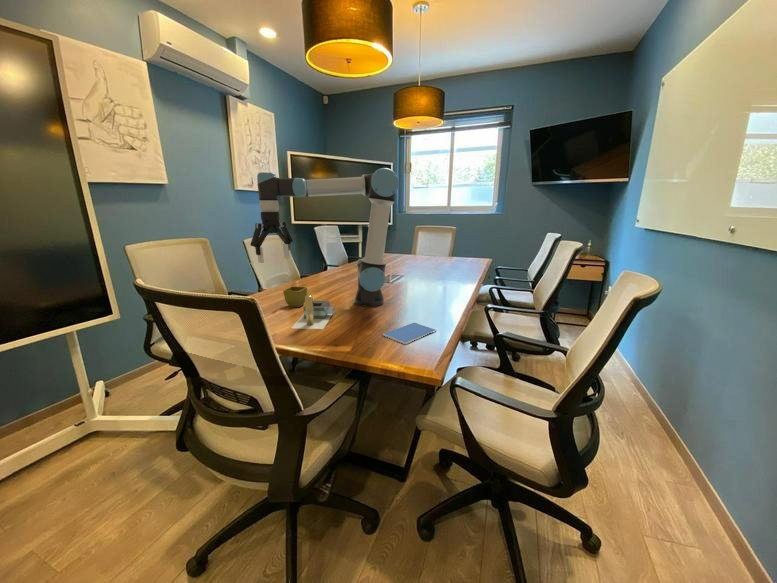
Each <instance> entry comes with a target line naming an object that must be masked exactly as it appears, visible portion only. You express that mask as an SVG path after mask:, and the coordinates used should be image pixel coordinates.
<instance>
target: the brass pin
mask: <svg viewBox="0 0 777 583" xmlns="http://www.w3.org/2000/svg"><path fill="white" fill-rule="evenodd" d="M313 298H314V296H313V295H309V294H307V296H305V303H304V306H306V322H307V325H309V326H310V325H314V313H313V301H314V299H313Z"/></svg>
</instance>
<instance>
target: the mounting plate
mask: <svg viewBox="0 0 777 583" xmlns="http://www.w3.org/2000/svg"><path fill="white" fill-rule="evenodd" d="M332 315H333V314H328V315H327V316H326V318H325V319H314V325H310V326H309V325H307V322H306V319H304V313H303V314H302V315H301V316H300V318H299V319H298V320H297V321H296V322H295V323H294V324H293V325H292V326H291V329H295V330H296V329H300V330H302V329H303V330H305V329H306V330H307V329H308V330H324V329H325V327H326V326H327V324H328V322H329V320H330V319H331V317H332Z"/></svg>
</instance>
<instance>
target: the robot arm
mask: <svg viewBox="0 0 777 583" xmlns="http://www.w3.org/2000/svg"><path fill="white" fill-rule="evenodd" d="M256 177H257V178H256V179H257V181H256V182H257V191H258V200H259V208H260V220H261V223H260V222H258V223H257V222H255V226H254V227H255V229H254V232H253V236H252V238H251V242H250V246H251V247H253V248H254V249H255V255H256V256H257V260H258V263H259V264H260V263H261V264H263V263H264V262H265V261H264V252H263V250H264V249H263V247H262V244H263V243H264V241H265V239H266V238H267V236H268V235H269V234H276V235H277V236H278V237H279V239H280V240H281V241H282V242H283V244H282V247H283V248H282V249H283V250H282V251H283V259H290V245H291V244H292V243H293V241H294V240H293V238H292V236H291V234H290V232H289V229H288V228H287V225H286V224H287V223H286V222H285V221H280V220H281V219H280V212H279V209H280V207H279V197H280V198H281V197H282V198H283V197H290V198H297V199H299V198H308V197H325V196H327V197H328V196H329V197H330V196H345V195H346V196H347V195H363V196H364V197H368V200H369V202H370V203H371V206H370V213H369V220H368V230H367V236H366V245H365V252H364V257H363V258H359V259H358V260H357V264H356V265H357V291H356V293H355V297H354V304H356V305H357V306H361V307H379V306H381V305H383V304H384V303H385V300H384V295H383V292H382V288H383V287H384V285H385V283H386V274H385V273H386V268H387V266H386V265H387V262H386V261H385V259H384V255H385V248H386V241H387V235H388V227H389V220H390V215H391V214H390V213H391V212H390V211H391V207H392V206H393V204H395V203H396V202H395V201H396V194H397V191H398V189H399V186H400V180H399V176H398V175H397V174H396V172H395V171H394V170H392V169H391V168H388V167H382V168H378V169H376V170H375V171H374V172H373V173H369V174H362V175H361V176H355V177H354V176H353V177H336V178H317V179H316V178H315V179H313V178H312V179H305V178H303V177H302V178H301V177H277V175H276V173H275V172H267V171H266V172H258V173H257V176H256Z"/></svg>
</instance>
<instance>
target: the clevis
mask: <svg viewBox="0 0 777 583" xmlns="http://www.w3.org/2000/svg"><path fill="white" fill-rule="evenodd" d="M330 305H331V303H330V300H313V313H314V319H325V318H326V316H327V315H328V314H332V315H333V314H334V313H335V311H336V310H335V308H336V307H335V306H330ZM303 314H304V319H306V306H305V305H304V306H303Z"/></svg>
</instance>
